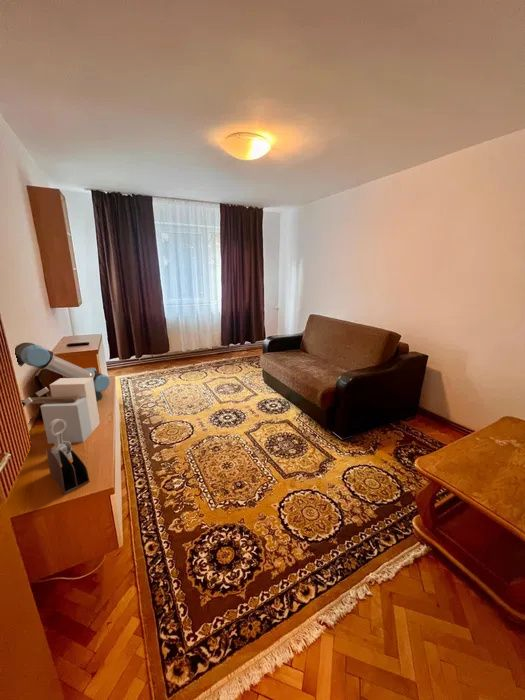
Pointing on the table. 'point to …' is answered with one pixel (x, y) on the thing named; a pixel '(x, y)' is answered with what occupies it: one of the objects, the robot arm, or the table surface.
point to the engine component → (59, 440)
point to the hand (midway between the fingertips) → (39, 394)
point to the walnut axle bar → (53, 399)
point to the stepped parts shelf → (72, 409)
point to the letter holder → (67, 471)
